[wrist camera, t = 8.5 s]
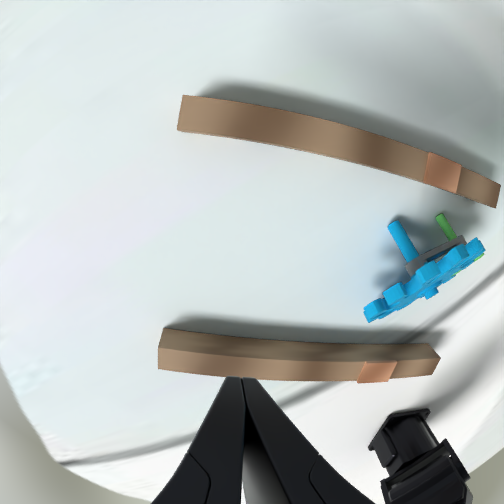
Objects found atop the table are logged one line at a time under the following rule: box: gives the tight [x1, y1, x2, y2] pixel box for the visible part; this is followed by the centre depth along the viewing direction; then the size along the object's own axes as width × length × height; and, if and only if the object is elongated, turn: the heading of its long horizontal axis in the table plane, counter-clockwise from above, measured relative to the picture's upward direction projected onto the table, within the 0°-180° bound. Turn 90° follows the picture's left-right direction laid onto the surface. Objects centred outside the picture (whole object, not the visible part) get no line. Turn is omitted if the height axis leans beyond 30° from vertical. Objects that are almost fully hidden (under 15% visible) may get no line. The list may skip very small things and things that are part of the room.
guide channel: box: [158, 95, 501, 383], centre depth 21 cm, size 24×18×3 cm
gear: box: [364, 214, 485, 323], centre depth 20 cm, size 11×6×10 cm
